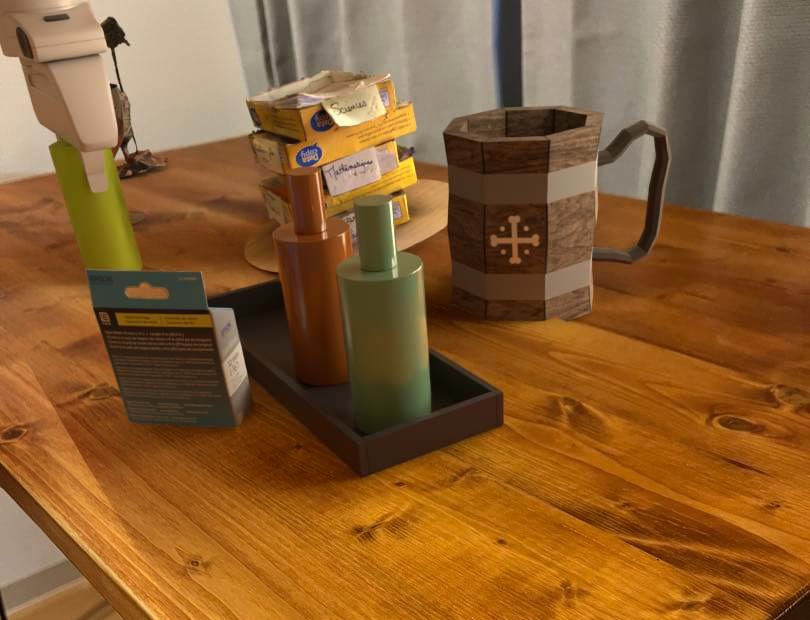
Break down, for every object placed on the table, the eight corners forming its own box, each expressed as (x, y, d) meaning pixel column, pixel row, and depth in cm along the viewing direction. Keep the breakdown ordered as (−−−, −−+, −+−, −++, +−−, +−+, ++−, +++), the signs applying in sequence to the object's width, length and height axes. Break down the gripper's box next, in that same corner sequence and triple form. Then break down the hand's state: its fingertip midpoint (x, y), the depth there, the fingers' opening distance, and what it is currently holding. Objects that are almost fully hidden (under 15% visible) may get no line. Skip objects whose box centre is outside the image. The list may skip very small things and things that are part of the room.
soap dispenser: (121, 259, 99) (65, 59, 88) (153, 268, 94) (98, 58, 83) (74, 274, 96) (9, 68, 84) (104, 284, 91) (40, 68, 80)
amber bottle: (314, 393, 66) (282, 186, 57) (283, 367, 70) (250, 171, 61) (378, 372, 68) (357, 169, 59) (345, 348, 72) (321, 156, 63)
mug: (467, 340, 74) (461, 150, 65) (434, 285, 84) (425, 116, 76) (688, 308, 76) (712, 119, 67) (629, 258, 86) (642, 90, 78)
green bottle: (378, 446, 59) (353, 220, 50) (340, 415, 63) (311, 200, 54) (447, 421, 61) (436, 199, 52) (407, 392, 65) (389, 182, 56)
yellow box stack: (257, 294, 86) (224, 109, 76) (234, 224, 106) (205, 70, 96) (495, 256, 90) (492, 75, 80) (430, 196, 110) (422, 44, 100)
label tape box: (258, 412, 66) (225, 249, 59) (238, 439, 63) (201, 271, 56) (152, 407, 68) (108, 249, 61) (127, 433, 65) (78, 270, 58)
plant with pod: (95, 171, 134) (54, 21, 122) (169, 161, 136) (135, 12, 124) (93, 184, 128) (50, 27, 116) (171, 172, 130) (136, 17, 118)
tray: (362, 488, 56) (357, 444, 54) (198, 336, 79) (190, 301, 77) (504, 434, 61) (503, 391, 59) (310, 304, 83) (305, 270, 81)
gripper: (-8, 26, 88) (37, 171, 96) (34, 41, 73) (83, 211, 81) (56, 18, 90) (94, 160, 98) (108, 31, 75) (149, 197, 83)
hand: (90, 183), depth 90 cm, fingers closed on soap dispenser, 6 cm apart
